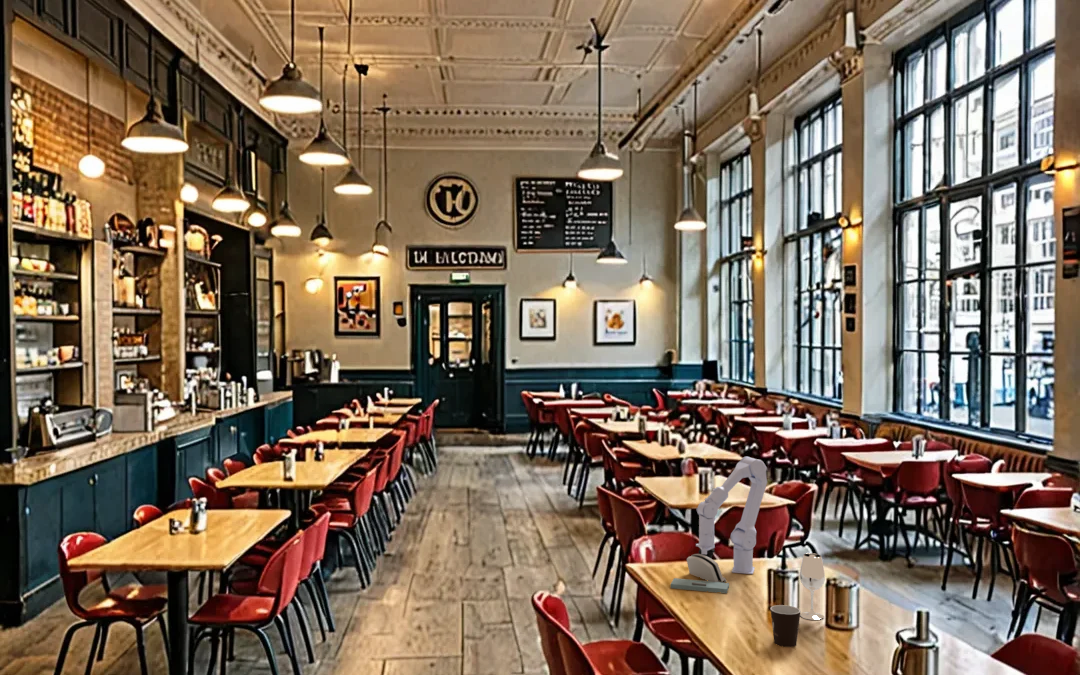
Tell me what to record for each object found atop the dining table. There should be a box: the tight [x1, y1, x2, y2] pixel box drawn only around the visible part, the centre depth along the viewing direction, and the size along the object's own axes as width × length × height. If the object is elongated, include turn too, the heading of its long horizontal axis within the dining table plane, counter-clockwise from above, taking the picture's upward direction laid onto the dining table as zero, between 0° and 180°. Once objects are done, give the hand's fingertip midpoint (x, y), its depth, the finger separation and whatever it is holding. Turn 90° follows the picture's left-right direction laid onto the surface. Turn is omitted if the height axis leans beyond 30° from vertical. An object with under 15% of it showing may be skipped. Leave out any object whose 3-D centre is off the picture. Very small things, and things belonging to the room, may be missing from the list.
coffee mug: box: [770, 604, 802, 648], centre depth 260 cm, size 12×9×10 cm
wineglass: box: [799, 552, 826, 621], centre depth 283 cm, size 8×8×20 cm
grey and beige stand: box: [686, 553, 728, 583], centre depth 327 cm, size 17×5×10 cm, turn 27°
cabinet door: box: [670, 577, 730, 594], centre depth 315 cm, size 8×20×2 cm, turn 72°
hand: (706, 568), depth 333 cm, fingers closed
